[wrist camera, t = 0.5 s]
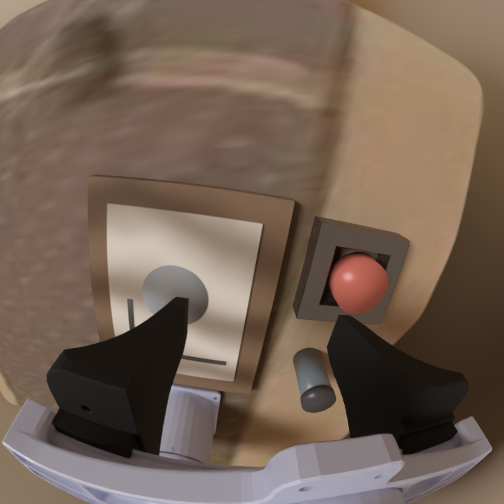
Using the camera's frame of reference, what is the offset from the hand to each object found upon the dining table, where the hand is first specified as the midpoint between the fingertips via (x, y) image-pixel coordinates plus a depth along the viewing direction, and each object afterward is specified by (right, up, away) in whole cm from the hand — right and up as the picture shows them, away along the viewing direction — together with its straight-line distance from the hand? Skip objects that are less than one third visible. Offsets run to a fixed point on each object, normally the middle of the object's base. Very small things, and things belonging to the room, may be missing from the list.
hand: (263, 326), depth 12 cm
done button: (+8, +1, +8) cm, 11 cm away
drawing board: (-7, -1, +10) cm, 13 cm away
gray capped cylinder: (+5, -7, +13) cm, 16 cm away
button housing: (+8, +2, +10) cm, 12 cm away
